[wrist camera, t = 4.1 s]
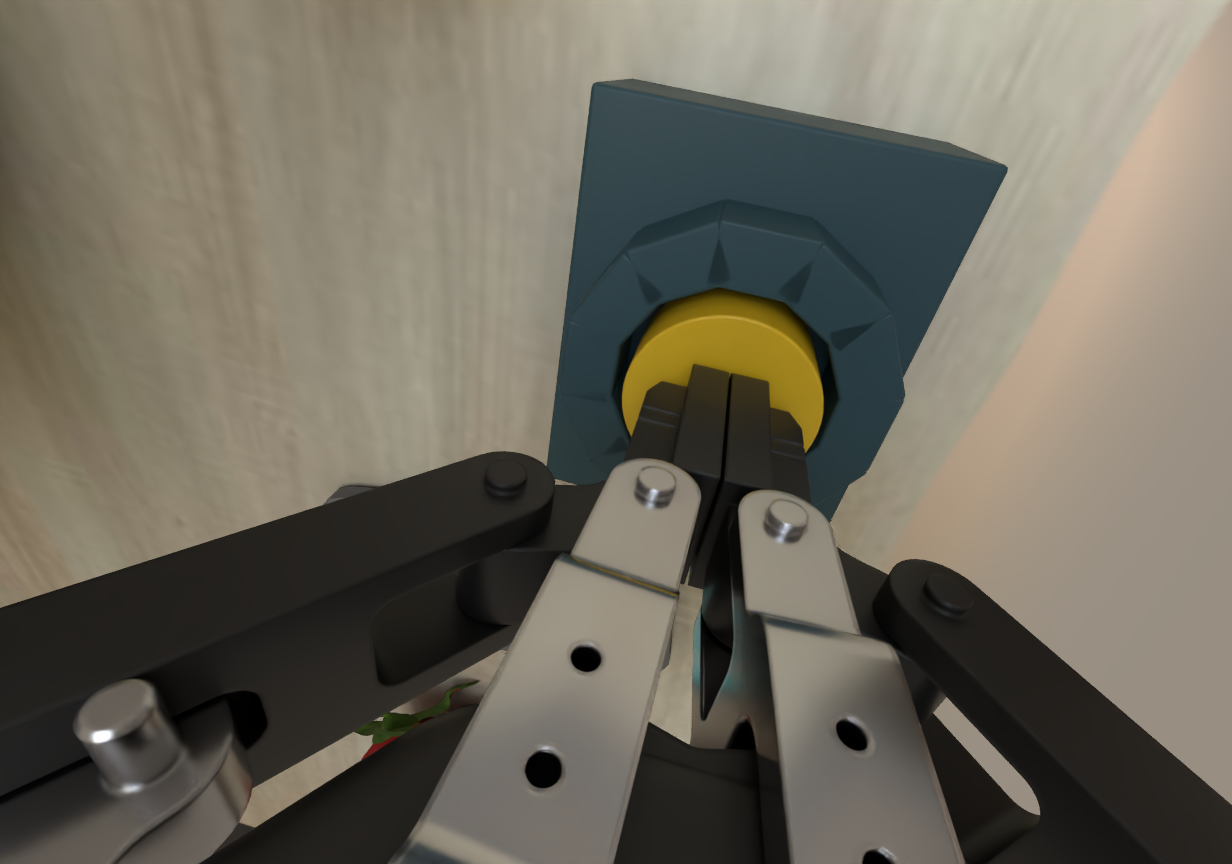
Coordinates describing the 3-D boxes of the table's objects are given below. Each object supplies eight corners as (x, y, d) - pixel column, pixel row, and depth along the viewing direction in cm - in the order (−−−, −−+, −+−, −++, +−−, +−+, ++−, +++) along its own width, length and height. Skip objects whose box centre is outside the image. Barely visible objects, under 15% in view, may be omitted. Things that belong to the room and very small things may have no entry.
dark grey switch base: (629, 77, 14) (562, 83, 10) (951, 143, 14) (1059, 185, 9) (579, 409, 20) (521, 522, 15) (807, 467, 19) (824, 604, 14)
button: (656, 262, 12) (640, 293, 11) (843, 304, 12) (857, 344, 10) (625, 417, 15) (607, 463, 13) (781, 456, 14) (785, 509, 12)
